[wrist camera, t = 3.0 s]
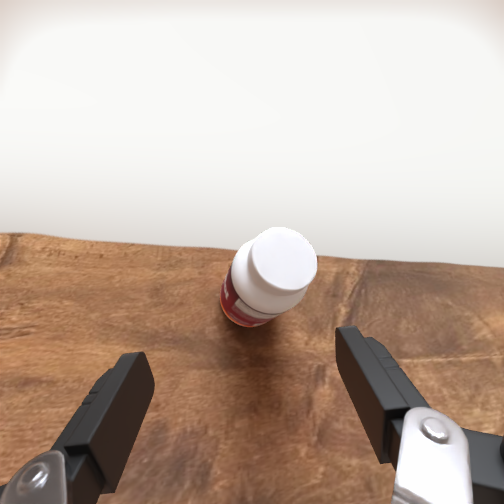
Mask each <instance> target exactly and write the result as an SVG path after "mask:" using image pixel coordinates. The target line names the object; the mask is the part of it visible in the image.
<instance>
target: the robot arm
mask: <svg viewBox="0 0 504 504" xmlns="http://www.w3.org/2000/svg"><path fill="white" fill-rule="evenodd" d="M335 345H336V363H337V367H338V370H339V373H340V375H341V378H342V380H343V382H344V384H345V387H346V389H347V391H348V393H349V396H350V398H351V400H352V402H353V404H354V407H355V409H356V411H357V413H358V416H359V418H360V420H361V422H362V425H363V427H364V429H365V431H366V434H367V436H368V438H369V440H370V442H371V445H372V447H373V449H374V451H375V454H376V456H377V458H378V460H379V463H380V464H384V463H392V465H393V467H394V469H395V471H396V477H395V484H394V490H393V495H392V501H391V504H504V436H498V435H493V434H487V433H482V432H477V431H472V430H468V429H464V428H461V427H459V426H458V425H457V424H456V423H455V422H454V421H453V420H452V419H450V418H449V417H448V416H446V415H444V414H443V413H441V412H439V411H437V410H434V409H432V408H431V407H430V406H429V405H428V403H427V402H426V401H425V399H424V398H423V397H422V395H421V394H420V393H419V391H418V390H417V389H416V387H415V386H414V385H413V383H412V382H411V381H410V379H409V378H408V377H407V376H406V374H405V373H404V372H403V370H402V369H401V368H399V365H398V364H397V362H396V361H395V360H394V359H393V358H392V356H391V354H390V353H389V352H388V350H387V349H386V348H385V346H384V345H382V344H381V343H380V342H378V341H377V340H375V339H374V338H372V337H367V338H364V337H363V336H362V334H361V333H360V331H359V330H358V328H357V327H356V326H346V327H338V328H336V330H335ZM154 387H155V383H154V378H153V375H152V372H151V369H150V366H149V363H148V361H147V358H146V355H145V353H144V352H134V353H126V354H123V355H122V356H121V357H120V358H119V360H118V361H117V363H116V365H115V366H114V368H112V369H109V370H108V371H107V372H106V373H104V374H103V375H102V376H101V377H100V378H99V379H98V380H97V381H96V383H95V384H94V386H93V387H92V389H91V390H90V392H89V395H87V396H86V398H85V399H84V401H83V402H82V405H81V406H79V408H78V409H77V411H76V412H75V414H74V415H73V417H72V418H71V420H70V421H69V423H68V424H67V426H66V427H65V429H64V430H63V432H62V433H61V435H60V436H59V437H58V439H57V440H56V442H55V443H54V445H53V446H52V448H51V449H50V451H47V452H44V453H42V454H40V455H38V456H36V457H35V458H33V459H32V460H30V461H29V462H28V463H26V464H25V465H24V466H23V467H22V468H20V469H19V470H18V471H17V472H16V474H15V475H14V476H13V477H12V478H11V479H10V481H9V482H8V483H7V484H5V485H2V486H0V504H96V503H97V501H98V498H99V496H100V494H108V493H115V490H116V488H117V485H118V483H119V480H120V478H121V475H122V473H123V470H124V468H125V465H126V463H127V460H128V457H129V455H130V452H131V450H132V447H133V445H134V442H135V440H136V437H137V435H138V432H139V430H140V427H141V424H142V422H143V419H144V417H145V414H146V412H147V409H148V407H149V404H150V402H151V399H152V397H153V393H154Z"/></svg>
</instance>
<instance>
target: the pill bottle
mask: <svg viewBox="0 0 504 504" xmlns="http://www.w3.org/2000/svg"><path fill="white" fill-rule="evenodd" d="M316 271H317V257H316V254H315V251H314V249H313V247H312V246H311V244H310V243H309V242H308V241H307V240H306V239H305V238H304V237H303V236H302V235H301V234H299V233H298V232H296V231H294V230H291V229H288V228H283V227H275V228H270V229H267V230H266V231H264V232H262V233H261V234H260V235H259V236H258V237H257V238H255V239H252V240H250V241H248V242H247V243H245V244H244V245H243V246H242V247H241V248H240V249H239V251H238V252H237V254H236V255H235V257H234V259H233V262H232V264H231V266H230V269H229V271H228V273H227V275H226V277H225V279H224V281H223V283H222V286H221V290H220V303H221V307H222V309H223V311H224V313H225V314H226V316H227V317H228V318H229V319H230V320H232V321H233V322H234V323H236V324H238V325H241V326H245V327H255V326H259V325H262V324H264V323H266V322H268V321H270V320H272V319H273V318H275V317H277V316H279V315H280V314H282V313H284V312H286V311H288V310H290V309H291V308H293V307H294V306H296V305H297V304H298V303H299V302H300V301H301V300H302V298H303V297H304V295H305V293H306V291H307V288H308V285H309V284H310V283H311V282H312V280H313V279H314V277H315V275H316Z"/></svg>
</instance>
